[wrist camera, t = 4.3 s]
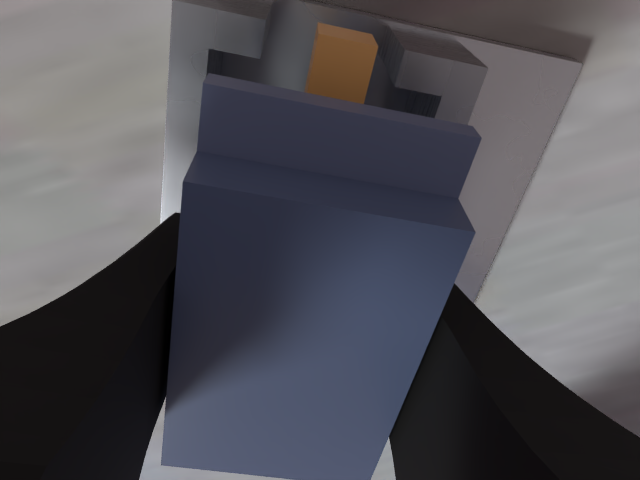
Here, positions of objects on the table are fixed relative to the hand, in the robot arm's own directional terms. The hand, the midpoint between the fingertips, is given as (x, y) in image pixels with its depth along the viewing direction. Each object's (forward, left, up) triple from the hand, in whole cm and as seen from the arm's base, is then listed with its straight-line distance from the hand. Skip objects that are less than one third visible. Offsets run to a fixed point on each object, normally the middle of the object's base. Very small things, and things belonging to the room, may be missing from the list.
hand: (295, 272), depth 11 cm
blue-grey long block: (0, 0, -2) cm, 2 cm away
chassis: (-1, -2, -6) cm, 6 cm away
